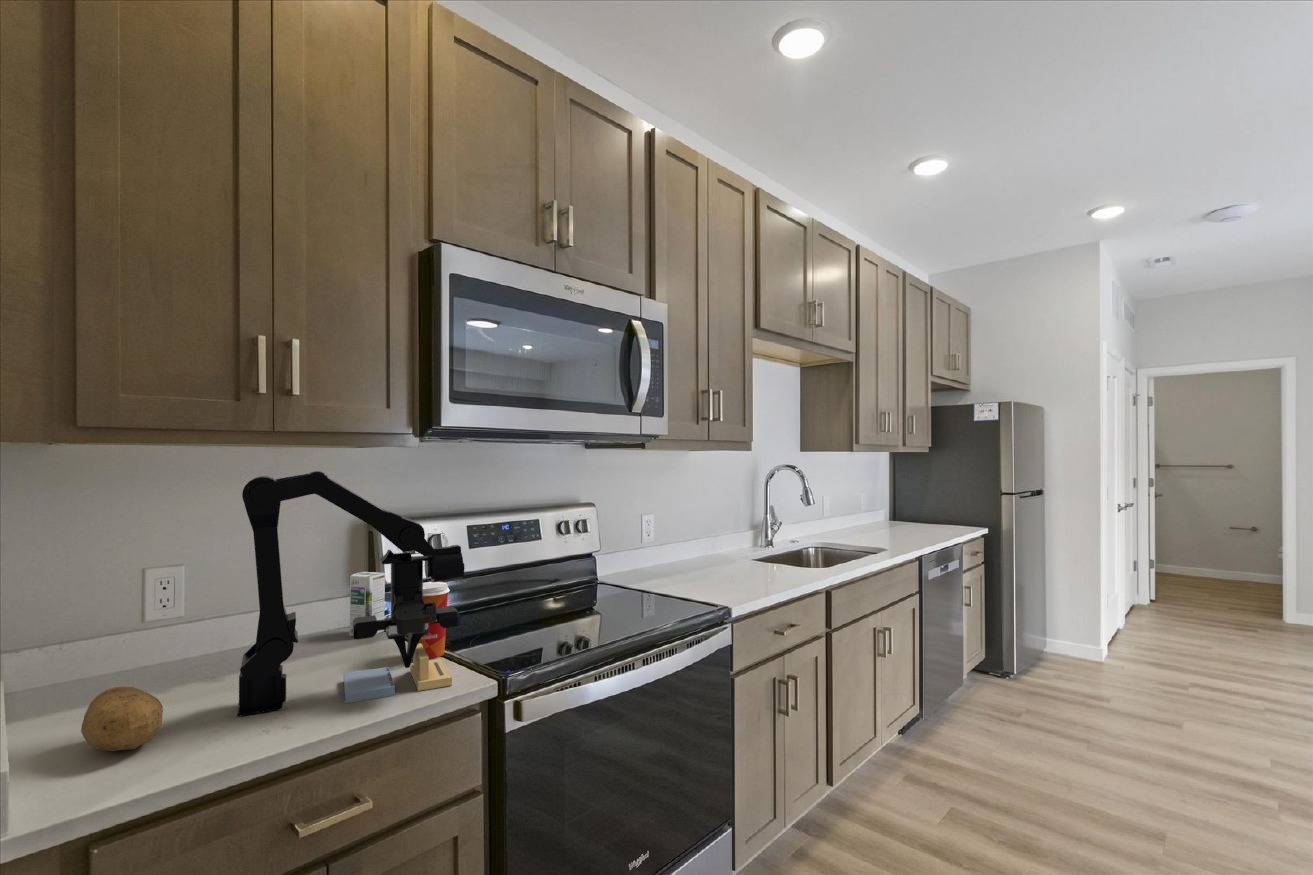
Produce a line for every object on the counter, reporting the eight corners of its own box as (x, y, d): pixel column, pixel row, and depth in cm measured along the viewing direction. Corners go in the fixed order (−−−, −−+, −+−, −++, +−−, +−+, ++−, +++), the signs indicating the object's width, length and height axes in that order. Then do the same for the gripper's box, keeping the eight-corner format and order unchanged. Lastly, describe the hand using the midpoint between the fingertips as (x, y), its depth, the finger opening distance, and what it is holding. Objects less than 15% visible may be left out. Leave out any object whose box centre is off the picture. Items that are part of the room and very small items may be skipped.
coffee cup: (400, 657, 139) (400, 586, 139) (430, 647, 146) (430, 579, 146) (429, 663, 135) (429, 590, 135) (458, 652, 142) (458, 583, 142)
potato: (91, 774, 89) (91, 716, 89) (71, 745, 98) (72, 691, 98) (177, 749, 97) (177, 695, 97) (151, 723, 106) (152, 674, 106)
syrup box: (348, 636, 154) (348, 575, 155) (365, 629, 160) (365, 570, 160) (368, 638, 153) (368, 576, 153) (385, 631, 159) (385, 571, 159)
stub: (418, 690, 119) (418, 660, 119) (410, 670, 130) (410, 643, 130) (452, 685, 122) (452, 655, 122) (441, 666, 133) (441, 639, 133)
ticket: (345, 703, 114) (345, 693, 114) (343, 681, 124) (343, 672, 124) (394, 695, 117) (394, 685, 117) (388, 674, 128) (388, 666, 128)
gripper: (355, 599, 113) (355, 689, 113) (465, 588, 121) (465, 672, 121) (352, 587, 123) (352, 670, 123) (454, 577, 131) (454, 655, 131)
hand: (407, 667), depth 124 cm, fingers closed
